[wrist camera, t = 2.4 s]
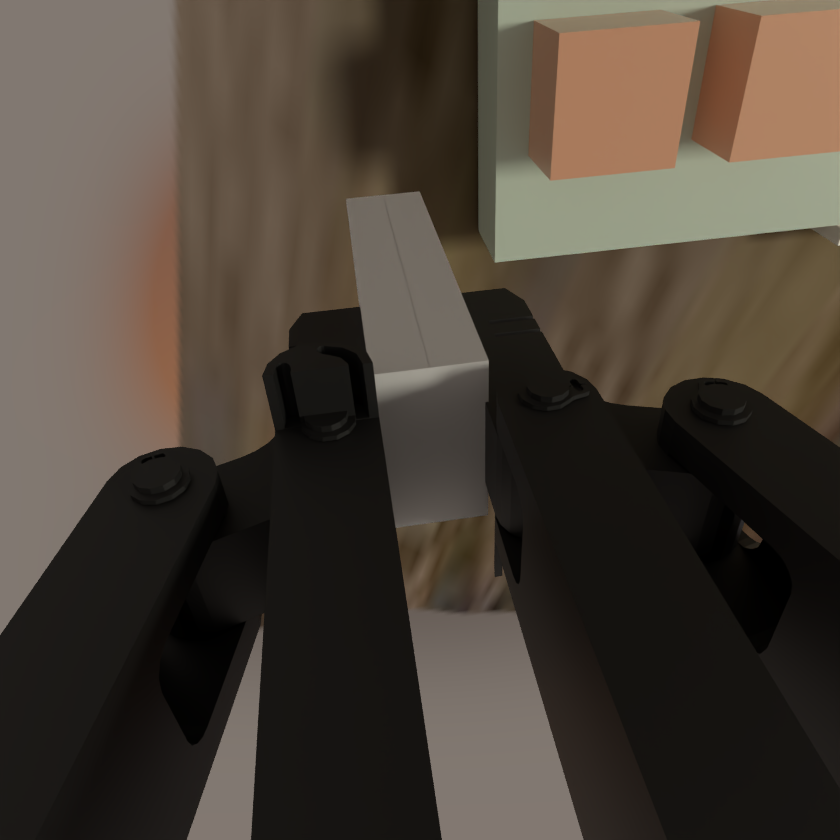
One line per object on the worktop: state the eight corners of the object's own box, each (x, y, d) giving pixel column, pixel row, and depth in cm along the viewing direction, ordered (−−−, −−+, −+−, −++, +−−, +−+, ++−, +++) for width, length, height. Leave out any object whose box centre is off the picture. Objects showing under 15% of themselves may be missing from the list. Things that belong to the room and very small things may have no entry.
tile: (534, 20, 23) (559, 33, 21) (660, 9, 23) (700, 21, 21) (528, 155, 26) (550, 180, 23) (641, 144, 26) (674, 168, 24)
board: (477, -134, 23) (500, -139, 20) (915, -163, 24) (993, -172, 21) (478, 230, 31) (494, 262, 28) (807, 196, 32) (854, 223, 29)
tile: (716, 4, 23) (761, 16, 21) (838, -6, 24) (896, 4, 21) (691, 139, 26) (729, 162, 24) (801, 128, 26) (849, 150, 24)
